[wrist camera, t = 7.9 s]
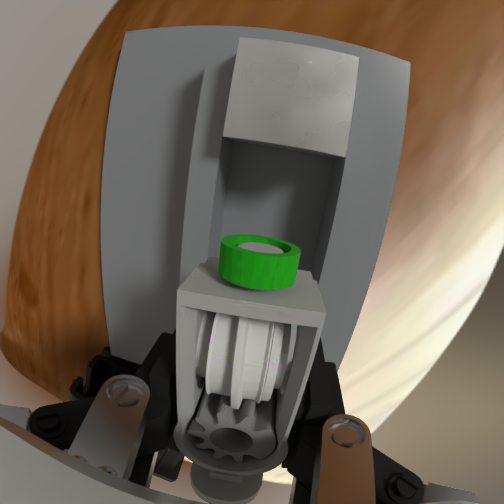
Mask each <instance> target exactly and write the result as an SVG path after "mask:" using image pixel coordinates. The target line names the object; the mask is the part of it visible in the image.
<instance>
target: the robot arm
mask: <svg viewBox="0 0 504 504" xmlns="http://www.w3.org/2000/svg"><path fill="white" fill-rule="evenodd" d="M295 344H296V341H295ZM294 351H295V347H294ZM293 358H294V353H293ZM292 363H293V360H292ZM177 421H178V413H177V385H176V329H175V331H174V332H173V334H170V333H166V332H163V333H162V334H161V335H160V336H159V338H158V339H157V341H156V342H155V344H154V345H153V347H152V348H151V350H150V352H149V353H148V355H147V356H146V358H145V359H144V361H143V362H142V364H141V366H140V367H139V369H138V370H137V372H136V373H135V375H134V376H132V375H117V376H114V377H111V378H110V379H108V380H106V381H105V383H104V384H103V385H102V387H101V389H100V390H99V392H98V394H97V396H93V397H88V398H83V399H78V400H74V401H68V402H63V403H59V404H52V405H46V406H43V407H39V408H38V409H36V410H35V411H34V412H31V411H30V409H29V408H23V407H15V406H8V405H1V404H0V504H205V503H200V502H196V501H192V500H187V499H184V498H179V497H176V496H173V495H169V494H165V493H162V492H159V491H156V490H152V489H150V488H149V487H150V483H151V479H152V475H153V471H154V467H155V463H156V459H157V455H158V451H160V450H163V449H166V448H167V446H169V447H173V446H174V444H175V441H174V436H173V433H174V429H175V426H176V424H177ZM282 468H287V471H288V472H289V473H290V474H292V475H293V476H294V478H293V482H292V489H291V495H290V501H289V504H480V501H479V498H478V496H476V495H475V493H472V492H470V491H465V490H460V489H455V488H451V487H446V486H442V485H437V484H434V483H430V482H428V483H427V484H426V485H425V484H423V482H422V481H421V479H420V478H419V477H418V476H417V475H416V474H414V473H413V472H411V471H409V470H408V469H406V468H405V467H403V466H402V465H400V464H398V463H397V462H395V461H394V460H392V459H391V458H389V457H388V456H386V455H385V454H383V453H381V452H380V451H379V450H377V449H375V448H374V447H373V446H372V442H371V434H370V430H369V428H368V427H367V425H366V424H365V423H364V422H363V421H362V420H360V419H359V418H357V417H354V416H351V415H347V414H345V410H344V405H343V399H342V394H341V389H340V384H339V379H338V374H337V369H336V365H335V363H334V362H325V358H324V352H323V346H322V341H321V336H320V340H319V343H318V347H317V350H316V354H315V357H314V361H313V364H312V367H311V371H310V374H309V377H308V380H307V383H306V387H305V390H304V393H303V396H302V399H301V402H300V405H299V408H298V411H297V414H296V416H295V419H294V422H293V425H292V428H291V430H290V433H289V436H288V454H287V456H286V458H285V460H284V461H283V462H282Z"/></svg>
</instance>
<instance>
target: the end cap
mask: <svg viewBox="0 0 504 504" xmlns="http://www.w3.org/2000/svg"><path fill="white" fill-rule="evenodd" d="M140 366H141V364H137V363H134V362H131V361H128V360H125V359H122V358H119V357H116V356H113V355H111V351H110V347H105V348H104V350H103V351H102V352H101V355H97V356H95V357H94V358H93V359H92V361H89V362H88V364H87V374H86V384H85V385H84V387H83V379H82V378H81V377H79V376H78V378H77V379H74V380H73V381H72V385H71V387H70V401H74V400H78V399H83V398H88V397H93V396H97V394H98V392H99V390H100V389H101V387H102V385H103V384H104V383H105V381H106V380H108V379H110V378H111V377H114V376H117V375H132V376H134V375H135V373H136V372H137V370H138V369H139V367H140ZM184 456H185V455H184V454H183V453H182V452H181V451H180V450H179V449H178V447H177V446H176V443H175V444H174V446H173V447H169V446H167V448H166V449H163V450H160V451H158V455H157V459H156V463H155V467H154V471H153V475H155V476H157V477H160V478H162V479H164V480H167V481H169V482H173V481H175V480H176V479H177V477H178V474H179V471H180V468H181V465H182V462H183V459H184Z"/></svg>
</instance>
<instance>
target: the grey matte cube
mask: <svg viewBox="0 0 504 504" xmlns="http://www.w3.org/2000/svg"><path fill="white" fill-rule="evenodd" d="M358 64H359V57H356V56H353V55H349V54H345V53H341V52H336V51H332V50H328V49H323V48H318V47H313V46H307V45H302V44H295V43H289V42H282V41H274V40H265V39H255V38H242V37H240V39H239V44H238V49H237V55H236V60H235V65H234V71H233V77H232V82H231V88H230V94H229V100H228V106H227V112H226V118H225V125H224V131H223V137H226V138H229V139H232V140H235V141H238V142H243V143H250V144H257V145H264V146H270V147H277V148H283V149H288V150H294V151H299V152H305V153H310V154H315V155H320V156H325V157H346V152H347V146H348V140H349V133H350V127H351V120H352V113H353V106H354V98H355V90H356V82H357V73H358Z"/></svg>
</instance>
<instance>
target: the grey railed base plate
mask: <svg viewBox="0 0 504 504" xmlns="http://www.w3.org/2000/svg"><path fill="white" fill-rule="evenodd" d="M240 37H242V38H255V39H265V40H274V41H282V42H289V43H295V44H302V45H307V46H313V47H318V48H323V49H328V50H332V51H336V52H341V53H345V54H349V55H353V56H356V57H359V64H358V73H357V82H356V90H355V98H354V106H353V113H352V120H351V127H350V133H349V140H348V146H347V152H346V157H325V156H320V155H315V154H310V153H305V152H299V151H294V150H288V149H283V148H277V147H270V146H264V145H257V144H250V143H243V142H238V141H235V140H232V139H229V138H226V137H223V131H224V125H225V118H226V112H227V106H228V100H229V94H230V88H231V82H232V77H233V71H234V65H235V60H236V55H237V49H238V44H239V39H240ZM409 80H410V62H407V61H404V60H402V59H399V58H396V57H393V56H390V55H387V54H384V53H381V52H378V51H375V50H372V49H368V48H365V47H361V46H358V45H354V44H350V43H346V42H342V41H338V40H333V39H329V38H324V37H319V36H314V35H309V34H303V33H297V32H290V31H283V30H275V29H266V28H255V27H240V26H177V27H163V28H152V29H143V30H135V31H128V32H126V34H125V38H124V41H123V45H122V49H121V53H120V57H119V62H118V66H117V71H116V76H115V80H114V86H113V91H112V97H111V103H110V109H109V116H108V123H107V130H106V139H105V148H104V159H103V172H102V189H101V262H102V280H103V293H104V304H105V313H106V322H107V330H108V337H109V344H110V351H111V355H113V356H116V357H119V358H122V359H125V360H128V361H131V362H134V363H137V364H142V362H143V361H144V359H145V358H146V356H147V355H148V353H149V352H150V350H151V348H152V347H153V345H154V344H155V342H156V341H157V339H158V338H159V336H160V335H161V334H162V333H163V332H166V333H170V334H173V332H174V331H175V329H176V309H177V289H178V288H179V287H180V285H181V284H182V283H183V282H184V281H185V280H186V279H187V277H188V276H189V275H190V274H191V273H192V272H193V271H194V269H195V268H196V267H197V266H198V265H199V264H200V263H205V262H206V261H207V260H208V258H209V257H210V256H212V257H219V253H220V244H221V239H222V238H223V237H225V236H228V235H238V234H246V235H259V236H266V237H272V238H276V239H280V240H284V241H287V242H289V243H292V244H294V245H296V246H297V247H299V248H300V250H301V254H300V259H299V264H298V270H305V271H310V272H311V274H312V277H313V280H316V281H317V284H318V287H319V290H320V293H321V296H322V299H323V303H324V306H325V309H326V312H327V313H326V317H325V321H324V325H323V329H322V332H321V341H322V346H323V352H324V358H325V362H334V363H335V365H336V369H337V371H338V369H339V366H340V364H341V362H342V359H343V357H344V354H345V352H346V349H347V347H348V344H349V342H350V339H351V336H352V334H353V331H354V328H355V326H356V323H357V320H358V317H359V314H360V312H361V309H362V306H363V303H364V300H365V297H366V294H367V291H368V288H369V284H370V281H371V278H372V275H373V271H374V268H375V265H376V261H377V258H378V254H379V251H380V247H381V243H382V239H383V236H384V232H385V228H386V224H387V220H388V215H389V211H390V207H391V202H392V198H393V193H394V188H395V183H396V178H397V173H398V167H399V162H400V156H401V150H402V143H403V136H404V129H405V121H406V113H407V104H408V93H409Z"/></svg>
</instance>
